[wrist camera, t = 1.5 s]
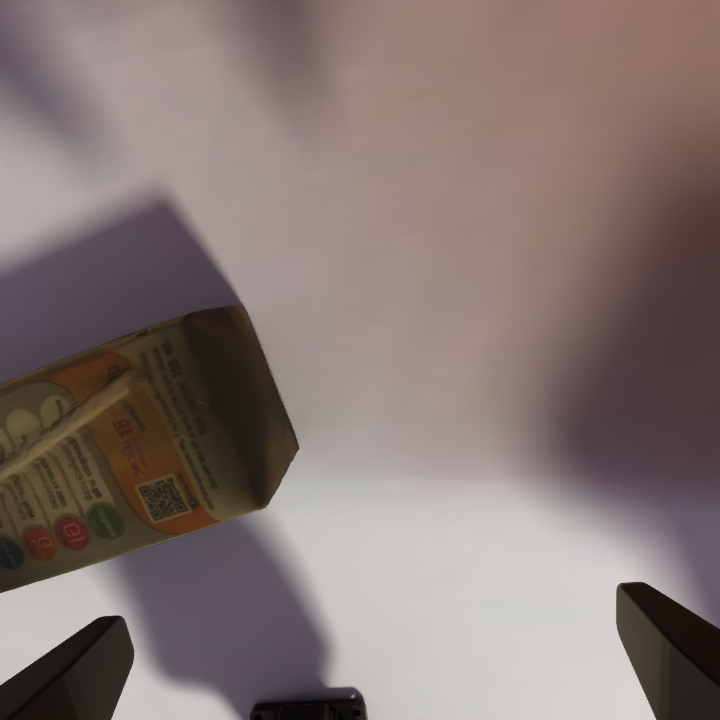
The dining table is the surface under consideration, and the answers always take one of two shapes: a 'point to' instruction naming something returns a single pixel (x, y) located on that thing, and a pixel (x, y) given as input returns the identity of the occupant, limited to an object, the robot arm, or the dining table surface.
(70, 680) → the robot arm
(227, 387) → the beverage carton
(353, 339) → the dining table surface
